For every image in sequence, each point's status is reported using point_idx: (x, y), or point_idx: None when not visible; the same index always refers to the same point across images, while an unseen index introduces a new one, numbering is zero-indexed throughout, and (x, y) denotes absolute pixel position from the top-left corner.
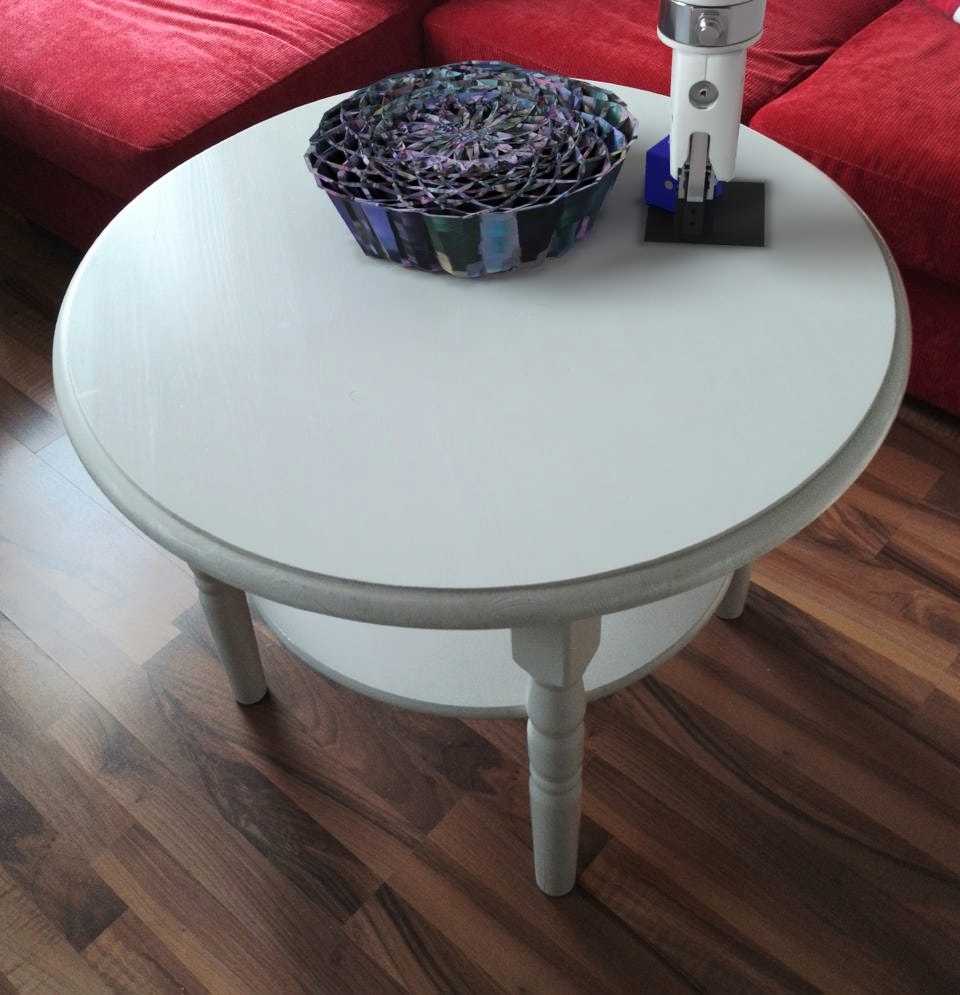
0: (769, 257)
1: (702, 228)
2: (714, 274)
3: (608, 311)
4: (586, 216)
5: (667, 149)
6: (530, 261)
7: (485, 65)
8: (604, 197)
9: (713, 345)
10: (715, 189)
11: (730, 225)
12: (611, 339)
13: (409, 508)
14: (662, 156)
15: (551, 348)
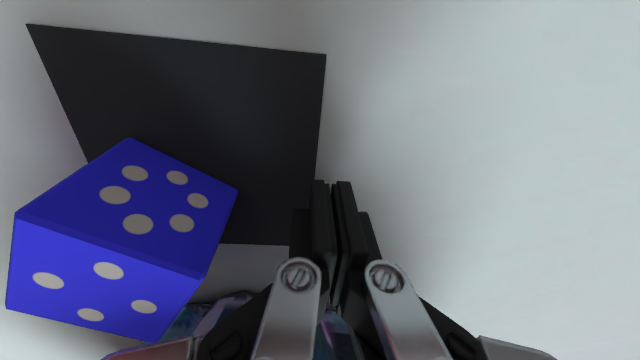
0: (369, 45)
1: (367, 216)
2: (407, 157)
3: (455, 272)
4: (332, 348)
5: (134, 321)
6: None
7: None
8: None
9: (588, 165)
10: (330, 252)
11: (249, 123)
12: (509, 267)
13: (631, 351)
14: (168, 325)
15: (498, 306)
